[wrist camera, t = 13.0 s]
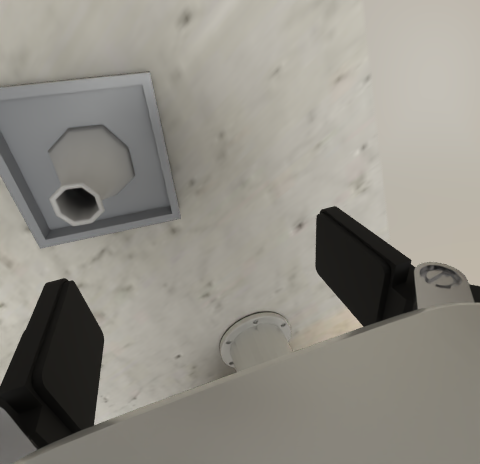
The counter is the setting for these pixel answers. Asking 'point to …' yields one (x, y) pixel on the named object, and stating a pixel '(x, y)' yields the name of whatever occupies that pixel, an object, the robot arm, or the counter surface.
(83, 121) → the tray
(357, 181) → the counter surface
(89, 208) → the flask
